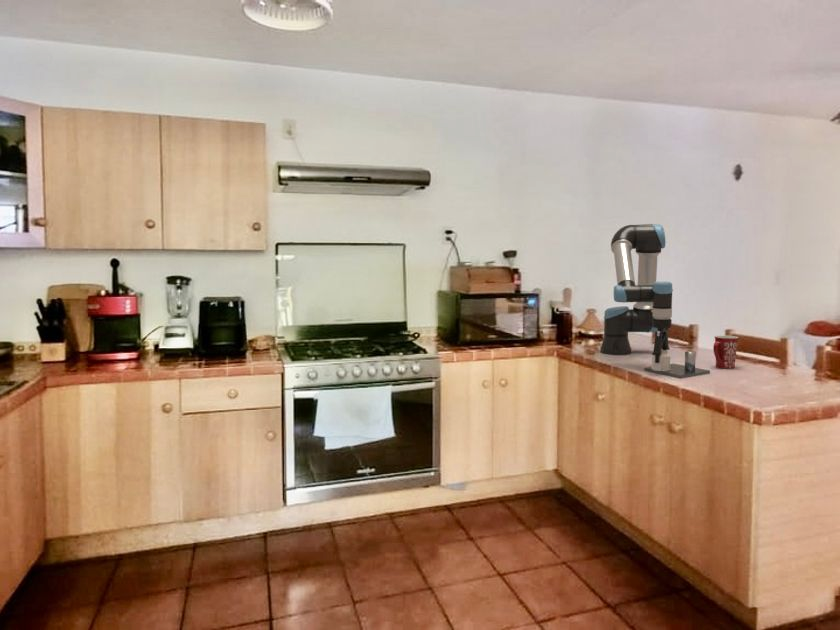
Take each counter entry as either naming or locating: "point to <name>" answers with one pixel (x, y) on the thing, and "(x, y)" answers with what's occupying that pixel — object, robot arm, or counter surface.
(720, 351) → the mug
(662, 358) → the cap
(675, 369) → the post base
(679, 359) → the counter surface
